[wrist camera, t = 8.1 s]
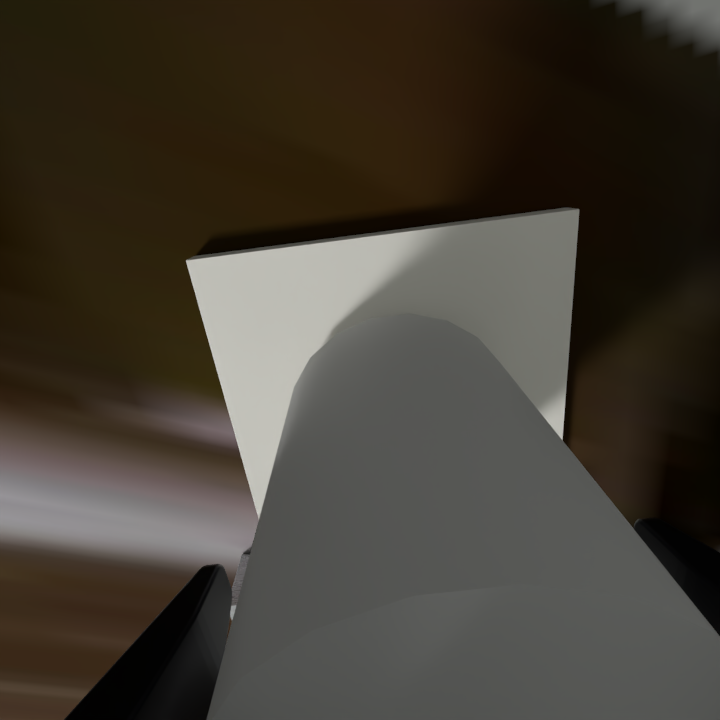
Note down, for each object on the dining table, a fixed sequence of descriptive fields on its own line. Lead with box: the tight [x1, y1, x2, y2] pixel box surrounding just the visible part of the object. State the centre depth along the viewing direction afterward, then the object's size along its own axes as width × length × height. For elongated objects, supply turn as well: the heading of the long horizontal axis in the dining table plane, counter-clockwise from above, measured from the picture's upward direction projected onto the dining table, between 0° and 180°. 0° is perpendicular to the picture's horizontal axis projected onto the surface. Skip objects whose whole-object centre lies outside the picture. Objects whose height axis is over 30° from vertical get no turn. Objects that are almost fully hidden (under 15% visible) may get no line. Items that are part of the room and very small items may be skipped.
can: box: [206, 313, 720, 720], centre depth 10 cm, size 8×8×12 cm
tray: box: [186, 207, 579, 518], centre depth 16 cm, size 12×12×1 cm
